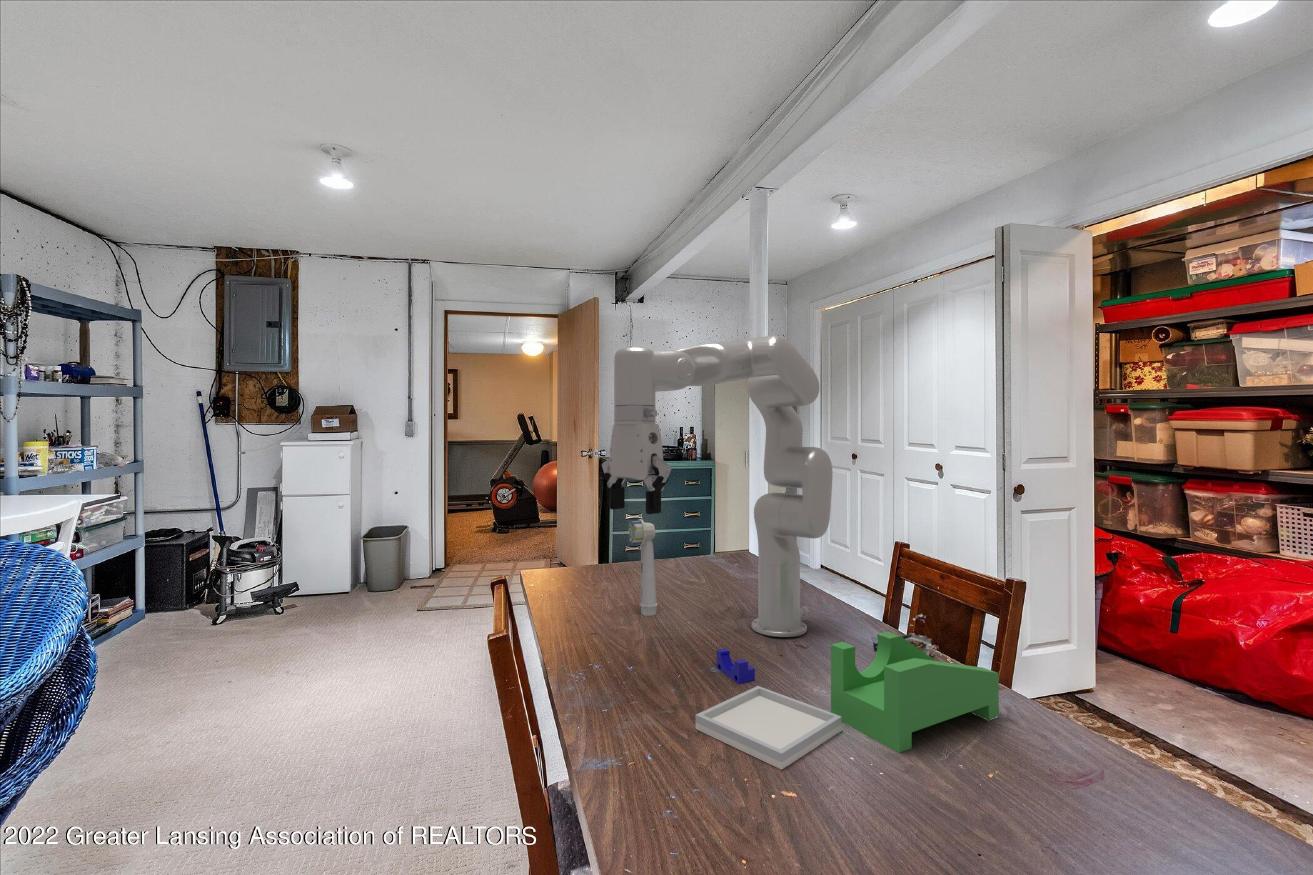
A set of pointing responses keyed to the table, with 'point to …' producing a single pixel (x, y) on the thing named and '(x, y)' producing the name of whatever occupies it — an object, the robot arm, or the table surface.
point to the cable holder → (734, 667)
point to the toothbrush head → (645, 564)
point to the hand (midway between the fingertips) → (634, 510)
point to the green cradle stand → (906, 691)
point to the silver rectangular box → (923, 641)
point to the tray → (769, 725)
